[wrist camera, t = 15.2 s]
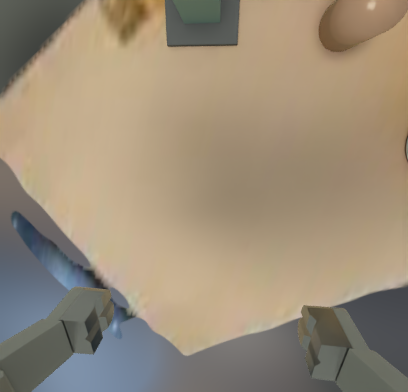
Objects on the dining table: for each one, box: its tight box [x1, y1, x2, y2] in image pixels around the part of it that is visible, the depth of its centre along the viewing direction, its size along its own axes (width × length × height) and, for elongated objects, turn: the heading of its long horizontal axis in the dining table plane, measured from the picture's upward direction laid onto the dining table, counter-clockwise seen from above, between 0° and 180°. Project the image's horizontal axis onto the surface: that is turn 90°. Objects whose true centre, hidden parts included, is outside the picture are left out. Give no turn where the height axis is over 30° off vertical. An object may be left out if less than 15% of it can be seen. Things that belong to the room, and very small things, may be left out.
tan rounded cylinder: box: [319, 0, 408, 52], centre depth 26 cm, size 6×6×8 cm
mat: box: [165, 0, 240, 46], centre depth 30 cm, size 10×10×1 cm
